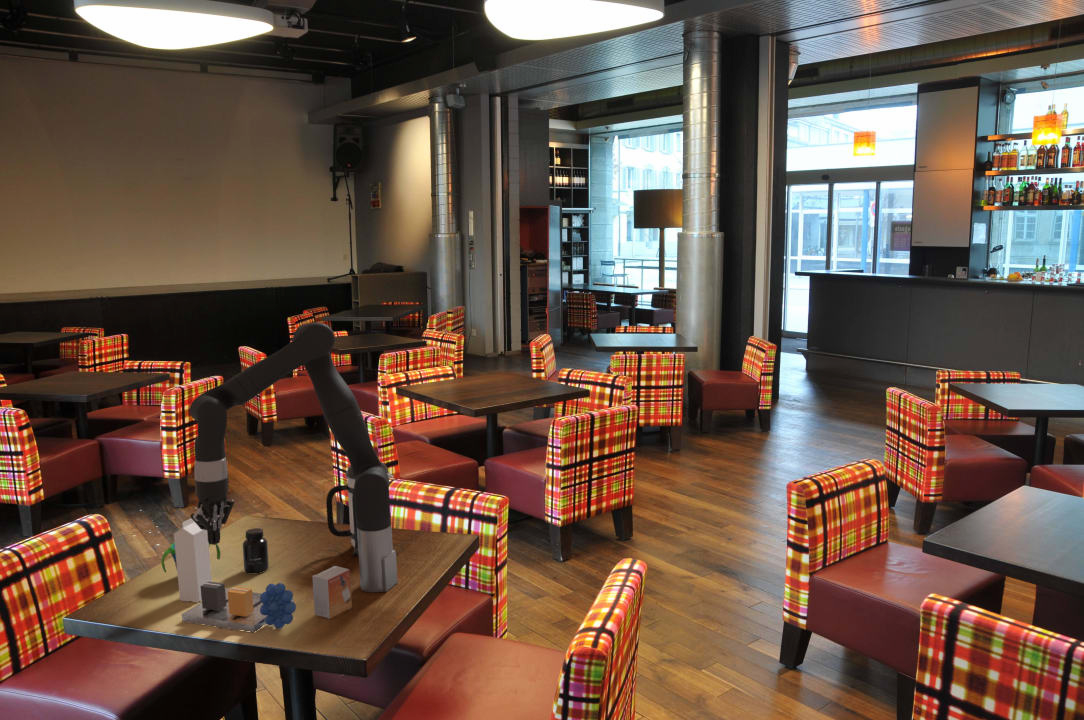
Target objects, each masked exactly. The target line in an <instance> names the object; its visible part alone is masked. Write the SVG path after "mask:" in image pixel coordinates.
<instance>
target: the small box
mask: <svg viewBox="0 0 1084 720" xmlns="http://www.w3.org/2000/svg"><path fill="white" fill-rule="evenodd" d="M311 577H312V589H313V591H312V593H313V594H312V595H313V605H314V606H313V607H314V608H313V609H314V615H315V616H319V617H322V618H326V619H329V620H330V619H331V620H332V619H333V618H334V617H336V616H338V615H340V614H342V613H344V612H345V611H347V610H350V609H352V607H353V605H352V587H351V584H352V583H351V570H350V569H349V568H346V567H345V568H344V567H341V566H337V565H332V567H329V568H328V569H326V570H323V571H321V572H320V573H317V574H314V575H312V576H311Z"/></svg>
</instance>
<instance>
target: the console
mask: <svg viewBox="0 0 1084 720" xmlns="http://www.w3.org/2000/svg"><path fill="white" fill-rule="evenodd" d="M231 589H232V588H231ZM231 589H230V588H225V594H226V605H227V606H226V607H224V608H222V609H221V610H219V611H216V610H209V609H203V608H202V601H201V602H199V604H196V605H195V606H193V607H191V608H189V609H188V610H186V611H185V612H183V613H181V622H182V623H188V622H189V624H194V623H197V624H196V625H200V624H205V625H204V626H206V625H210V626H209V627H213V626H216V627H215V628H219V627H222V628H221V629H225V628H230V629H229V630H231V629H236V630H235V631H238V630H244V631H250V632H255V631H257V630H258V629H260V628H261V627H262V626H263V625H265V624H267V623H266V622H265V619H266V616H267V615H266V616H265V615H262V614H261V613H260V608H261V606H262V605H263V603H261V601H260V596H261V594H262V593H260V592H253V591H252V595H253V608H254V612H252V613H251V614H249V615H248V616H246V617H245V616H238V615H232V614H229V603H228V591H229V590H231ZM291 602H294V603H295V599H294V597H293V598H292V600H291ZM267 625H268V624H267ZM265 626H266V625H265ZM261 629H262V628H261ZM261 629H260V630H261ZM244 631H243V632H244ZM258 631H259V630H258ZM258 631H257V632H258ZM250 632H249V633H250Z"/></svg>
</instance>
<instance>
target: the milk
mask: <svg viewBox="0 0 1084 720" xmlns="http://www.w3.org/2000/svg"><path fill="white" fill-rule="evenodd" d="M181 523H182V525H181V527H182V528H180V529H179V530H177V531H175V532H174V533H173V539H174V540H173V541H174V542H175V552H176V563H177V569H176V572H177V582H178V583H177V584H178V592H179V600H180V601H181V602H189V601H192V602H191V603H200V602H199V601H201V600H202V598H201V587H200V586H202V585H203V584H205V583H207V582H213V580H212V579H213V578H212V568H211V567H212V566H211V558H210V557H211V556H210V555H211V554H210V546H209V543H208V535H207V530H202V529H200V528H199V526H198V525H197V524H196V523H195V522H194V521H193V520H192V518H191V517H190V518H189V519H187V520H184V521H183V522H181ZM194 601H195V602H194ZM201 602H202V601H201Z"/></svg>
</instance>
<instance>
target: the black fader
mask: <svg viewBox="0 0 1084 720" xmlns="http://www.w3.org/2000/svg"><path fill="white" fill-rule="evenodd" d="M225 585H226V584H225V583H223V582H215V581H212V582H207V583H205V584H203V585H202V586H200V587H201V598H202V601H201V602H202V608H203V609H209V610H216V611H219V610H221V609H222V608H224V607H226V606H227V605H226V594H225V589H226V586H225Z"/></svg>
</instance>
